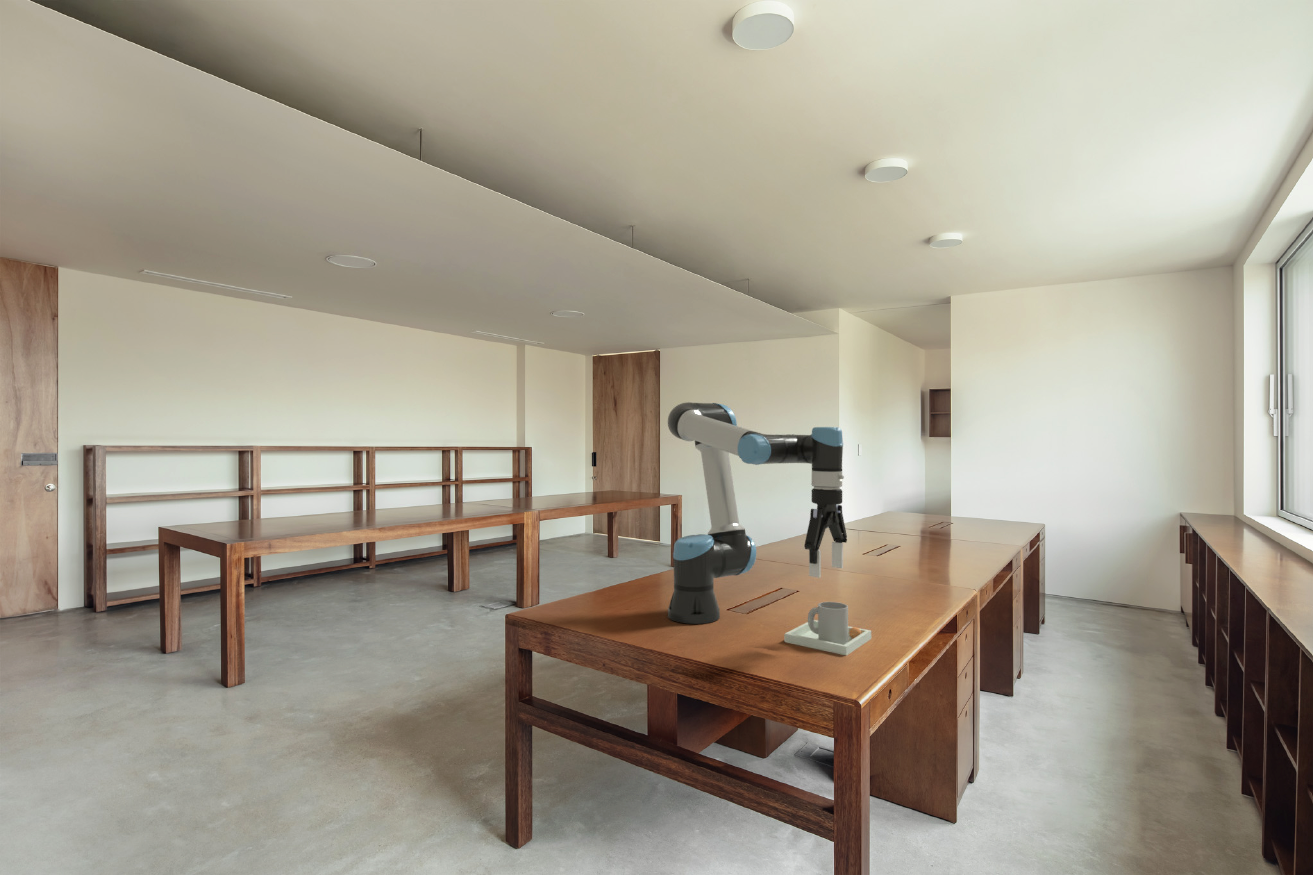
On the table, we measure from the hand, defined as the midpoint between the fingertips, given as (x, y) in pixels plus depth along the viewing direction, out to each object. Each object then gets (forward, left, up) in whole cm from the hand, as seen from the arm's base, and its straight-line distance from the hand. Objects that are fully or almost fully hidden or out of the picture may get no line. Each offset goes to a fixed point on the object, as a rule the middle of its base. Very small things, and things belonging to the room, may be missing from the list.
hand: (826, 571), depth 155 cm
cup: (0, 0, -17) cm, 17 cm away
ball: (+5, +5, -17) cm, 19 cm away
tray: (0, 0, -18) cm, 18 cm away
